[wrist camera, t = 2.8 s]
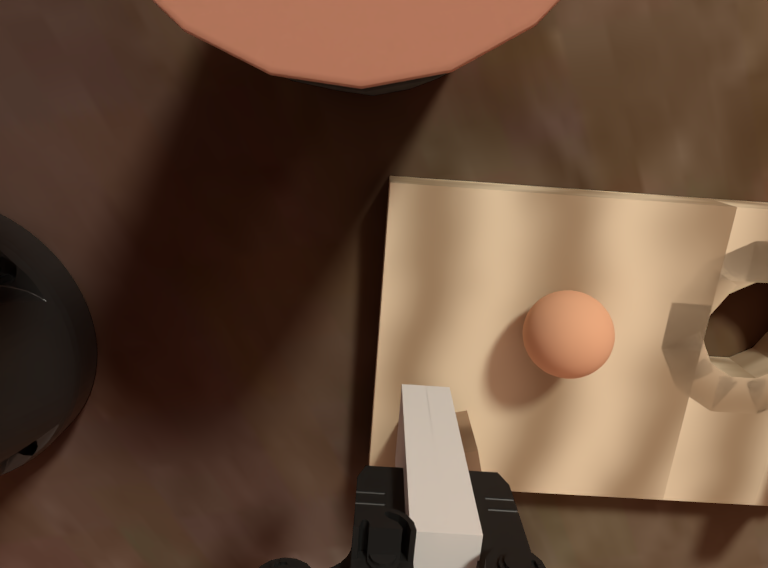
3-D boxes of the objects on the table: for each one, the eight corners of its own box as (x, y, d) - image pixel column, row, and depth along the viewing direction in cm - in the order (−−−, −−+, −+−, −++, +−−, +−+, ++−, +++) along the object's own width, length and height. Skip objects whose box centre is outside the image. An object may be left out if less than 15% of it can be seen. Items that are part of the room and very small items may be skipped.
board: (368, 456, 34) (366, 521, 28) (389, 175, 29) (391, 192, 24) (794, 480, 34) (869, 549, 29) (883, 210, 30) (992, 234, 24)
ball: (508, 353, 29) (528, 392, 25) (520, 276, 28) (542, 304, 24) (588, 358, 29) (619, 397, 25) (603, 282, 28) (638, 310, 24)
